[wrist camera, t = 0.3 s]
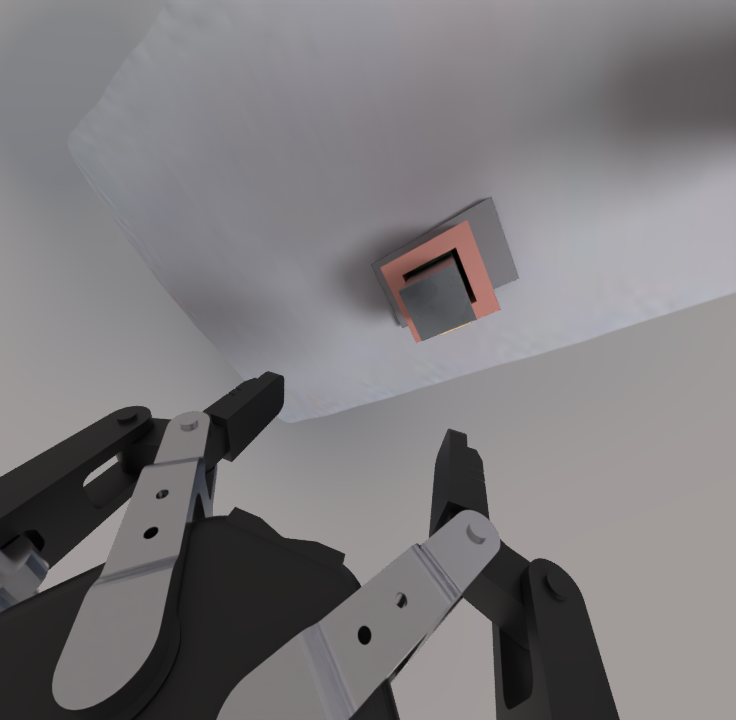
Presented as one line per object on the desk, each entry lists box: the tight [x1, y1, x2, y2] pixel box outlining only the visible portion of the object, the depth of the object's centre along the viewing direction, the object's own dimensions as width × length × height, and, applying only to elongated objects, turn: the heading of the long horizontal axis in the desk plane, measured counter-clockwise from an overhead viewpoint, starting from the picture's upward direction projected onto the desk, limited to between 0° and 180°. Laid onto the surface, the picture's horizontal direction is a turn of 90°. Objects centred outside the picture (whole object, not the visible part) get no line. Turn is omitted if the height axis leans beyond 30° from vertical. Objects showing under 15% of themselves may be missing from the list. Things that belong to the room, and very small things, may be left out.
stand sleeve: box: [371, 197, 519, 343], centre depth 30 cm, size 16×10×15 cm, turn 118°
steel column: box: [398, 250, 477, 341], centre depth 26 cm, size 4×4×18 cm
